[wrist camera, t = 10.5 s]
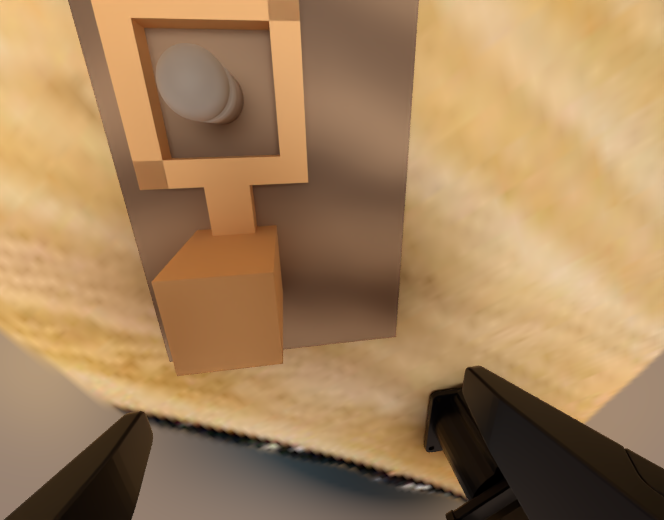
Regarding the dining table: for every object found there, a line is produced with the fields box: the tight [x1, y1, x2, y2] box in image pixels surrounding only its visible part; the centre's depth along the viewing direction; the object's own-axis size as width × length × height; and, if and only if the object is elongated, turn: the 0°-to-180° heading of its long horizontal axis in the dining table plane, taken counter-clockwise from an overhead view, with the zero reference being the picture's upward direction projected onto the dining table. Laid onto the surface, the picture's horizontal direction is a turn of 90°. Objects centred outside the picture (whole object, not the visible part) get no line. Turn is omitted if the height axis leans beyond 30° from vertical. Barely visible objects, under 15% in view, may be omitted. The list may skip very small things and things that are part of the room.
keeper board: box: [68, 0, 419, 362], centre depth 14 cm, size 20×14×7 cm
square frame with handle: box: [91, 0, 308, 376], centre depth 12 cm, size 14×7×6 cm, turn 1°
